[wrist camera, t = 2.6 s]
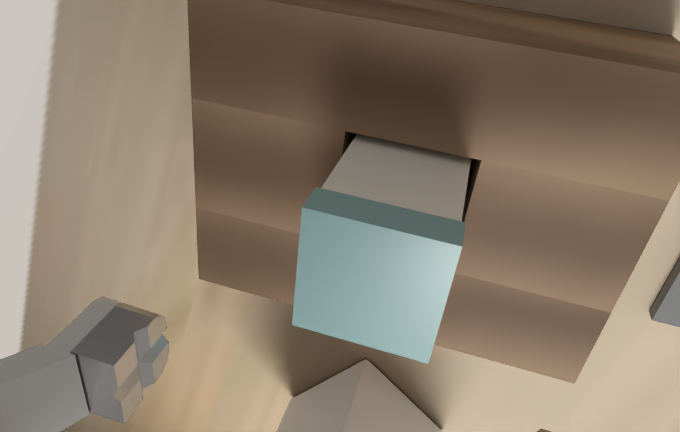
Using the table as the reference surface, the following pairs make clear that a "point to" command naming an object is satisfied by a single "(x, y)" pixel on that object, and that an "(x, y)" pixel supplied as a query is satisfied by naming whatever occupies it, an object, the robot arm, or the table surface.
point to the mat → (668, 300)
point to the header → (443, 150)
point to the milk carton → (355, 406)
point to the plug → (382, 246)
